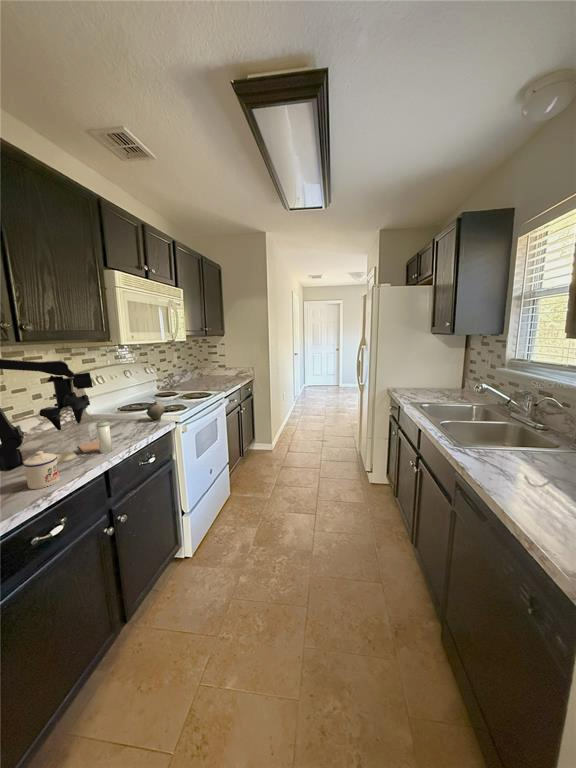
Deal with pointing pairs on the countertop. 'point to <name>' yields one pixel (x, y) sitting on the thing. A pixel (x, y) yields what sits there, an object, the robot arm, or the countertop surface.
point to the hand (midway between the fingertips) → (69, 426)
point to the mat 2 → (89, 446)
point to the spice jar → (104, 437)
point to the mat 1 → (66, 456)
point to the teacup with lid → (41, 470)
